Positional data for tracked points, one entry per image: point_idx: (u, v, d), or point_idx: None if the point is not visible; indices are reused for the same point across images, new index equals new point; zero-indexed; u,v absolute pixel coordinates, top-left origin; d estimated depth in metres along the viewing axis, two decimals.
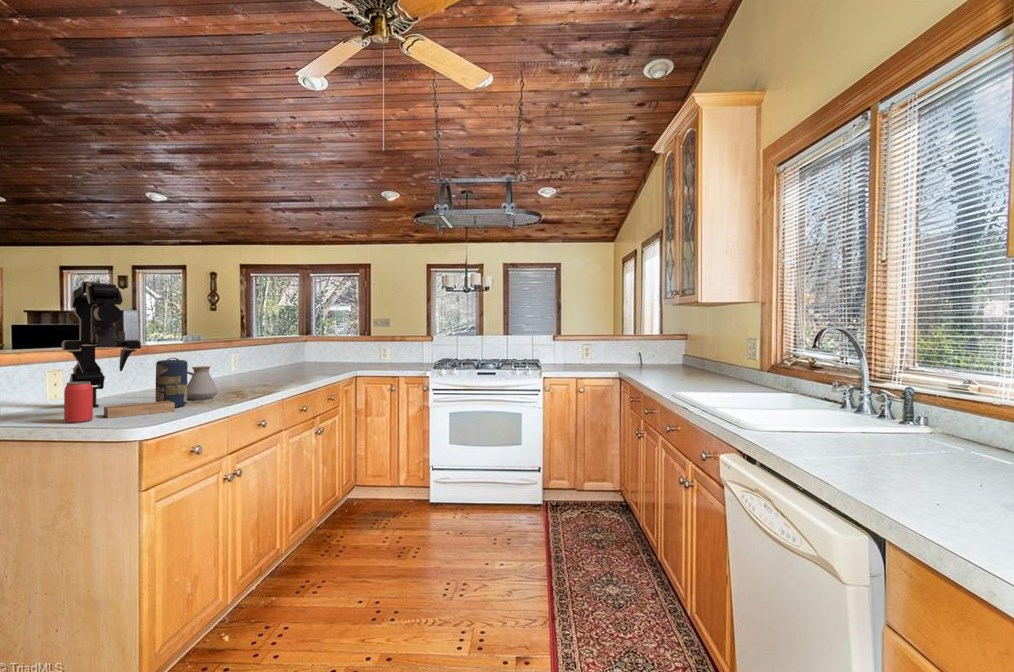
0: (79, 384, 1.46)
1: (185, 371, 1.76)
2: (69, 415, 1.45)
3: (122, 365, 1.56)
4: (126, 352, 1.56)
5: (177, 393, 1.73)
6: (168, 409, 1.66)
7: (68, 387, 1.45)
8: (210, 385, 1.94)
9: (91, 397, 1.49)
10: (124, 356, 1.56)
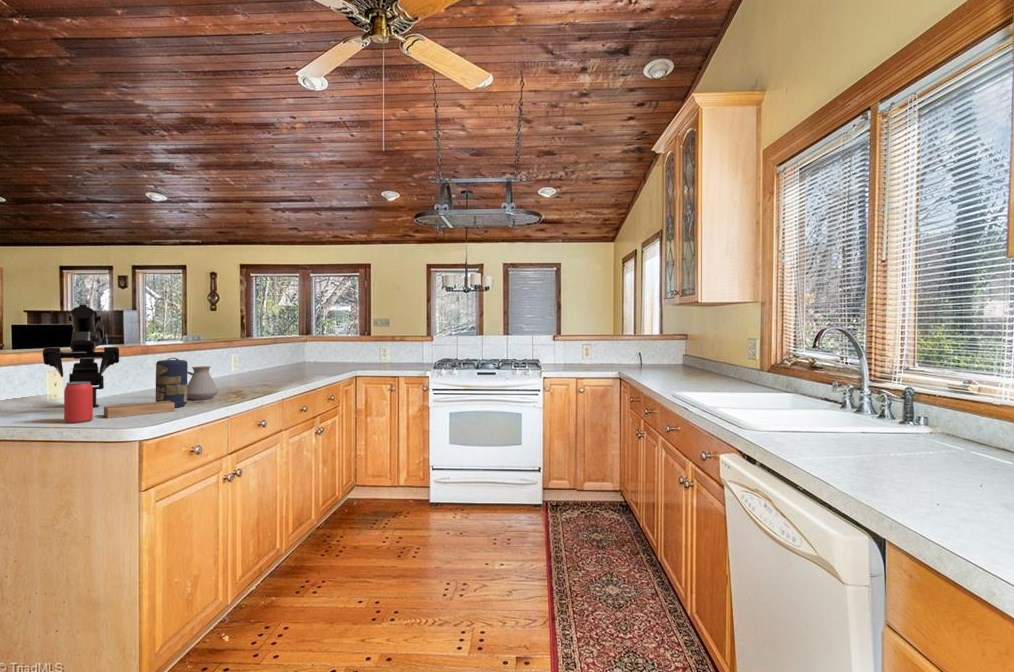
0: (79, 384, 1.46)
1: (185, 371, 1.76)
2: (69, 415, 1.45)
3: (101, 368, 1.58)
4: (104, 355, 1.60)
5: (177, 393, 1.73)
6: (168, 409, 1.66)
7: (68, 387, 1.45)
8: (210, 385, 1.94)
9: (91, 397, 1.49)
10: (103, 360, 1.59)
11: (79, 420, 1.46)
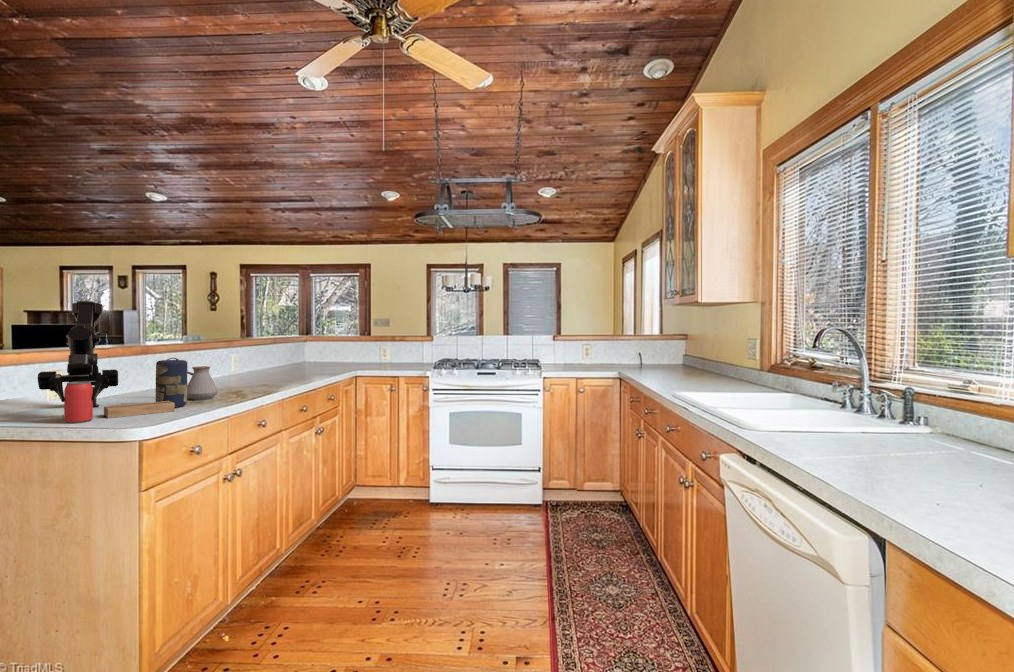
0: (79, 384, 1.46)
1: (185, 371, 1.76)
2: (69, 415, 1.45)
3: (94, 392, 1.50)
4: (98, 379, 1.51)
5: (177, 393, 1.73)
6: (168, 409, 1.66)
7: (68, 387, 1.45)
8: (210, 385, 1.94)
9: (91, 397, 1.49)
10: (96, 384, 1.51)
11: (79, 420, 1.46)
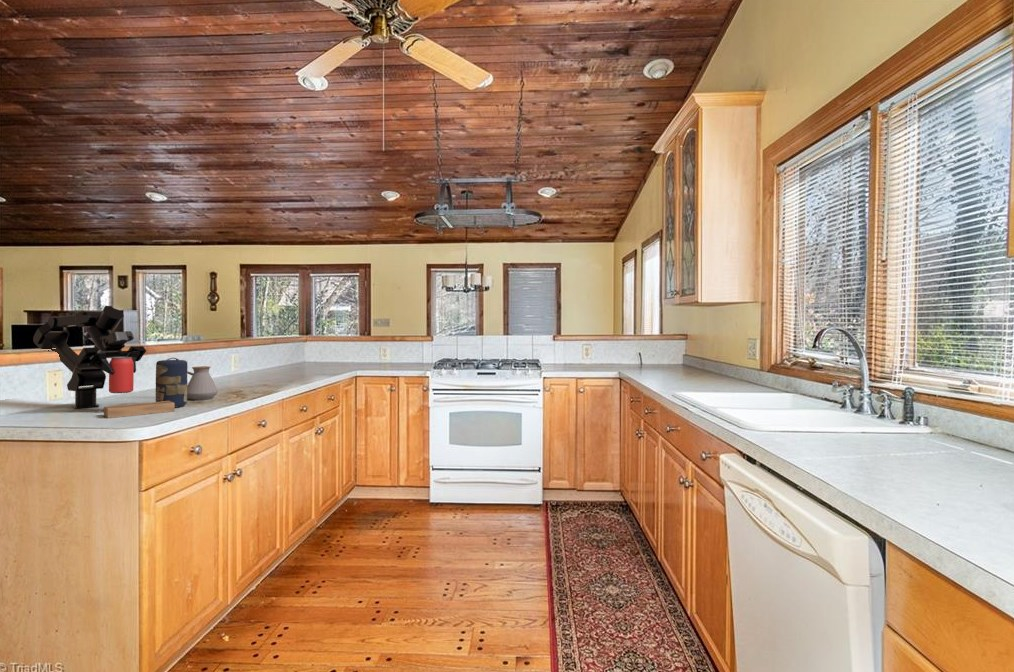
0: (127, 358, 1.64)
1: (185, 371, 1.76)
2: (119, 386, 1.62)
3: (134, 366, 1.68)
4: (133, 354, 1.69)
5: (177, 393, 1.73)
6: (168, 409, 1.66)
7: (118, 361, 1.62)
8: (210, 385, 1.94)
9: None
10: (132, 358, 1.69)
11: (128, 390, 1.64)
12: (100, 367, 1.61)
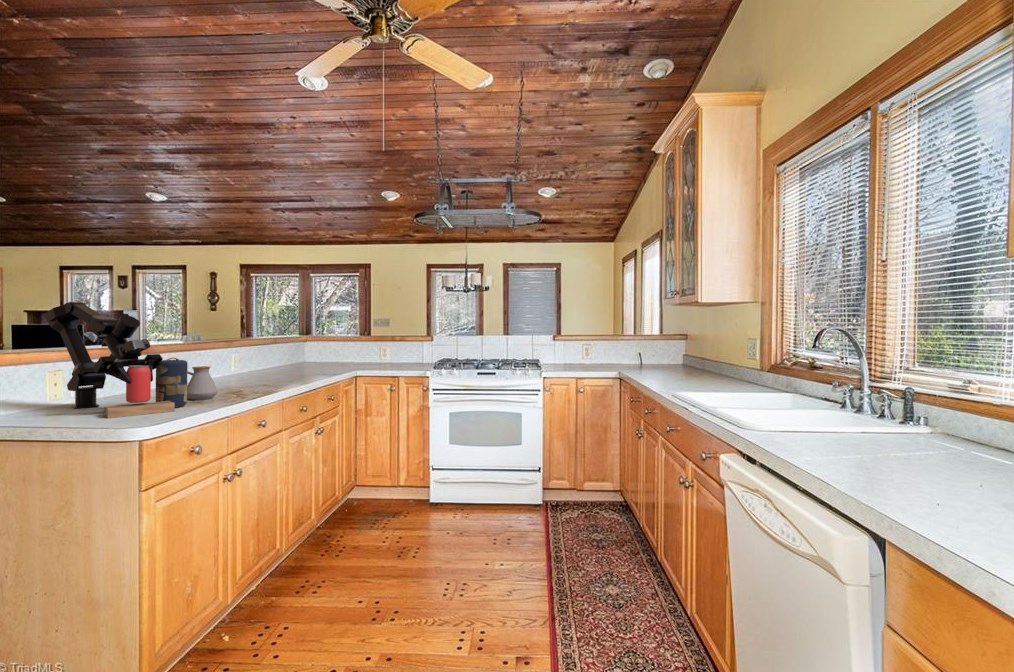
0: (144, 367, 1.61)
1: (185, 371, 1.76)
2: (137, 395, 1.59)
3: (151, 374, 1.65)
4: (149, 362, 1.67)
5: (177, 393, 1.73)
6: (168, 409, 1.66)
7: (136, 370, 1.59)
8: (210, 385, 1.94)
9: None
10: (149, 367, 1.66)
11: (145, 399, 1.61)
12: (117, 376, 1.58)
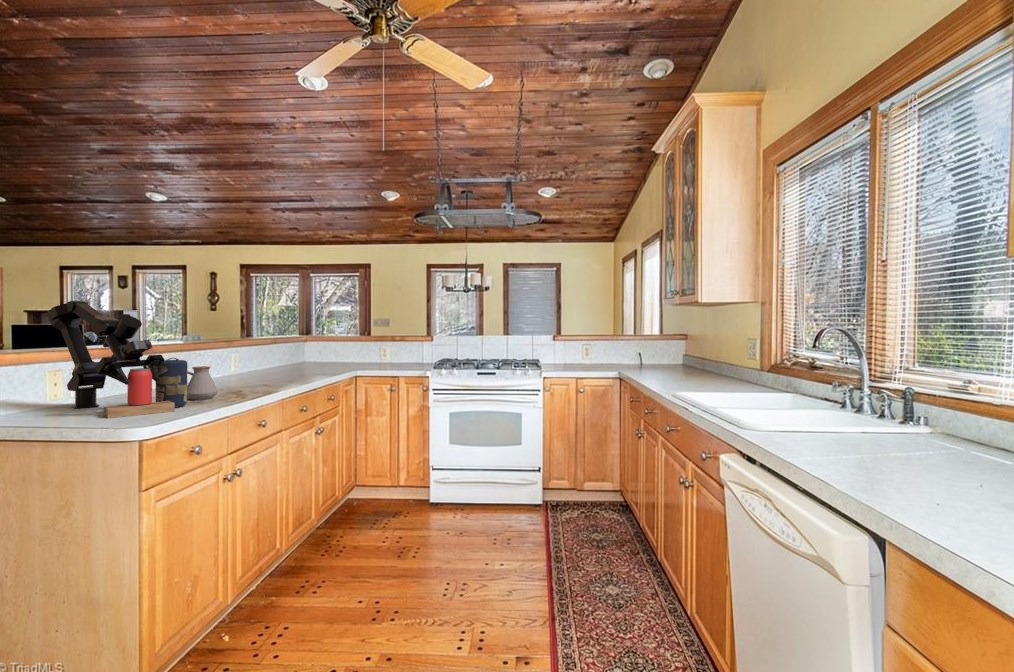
0: (146, 370, 1.61)
1: (185, 371, 1.76)
2: (138, 398, 1.59)
3: (156, 375, 1.66)
4: (155, 362, 1.67)
5: (177, 393, 1.73)
6: (168, 409, 1.66)
7: (137, 373, 1.59)
8: (210, 385, 1.94)
9: None
10: (154, 367, 1.67)
11: (147, 402, 1.61)
12: (115, 377, 1.57)
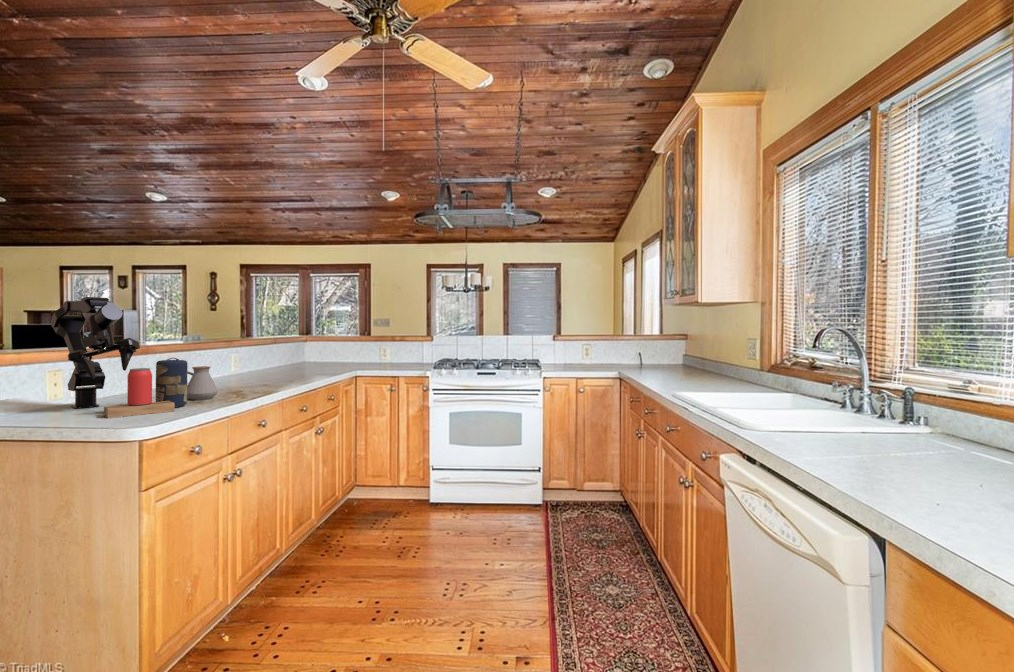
0: (146, 370, 1.61)
1: (185, 371, 1.76)
2: (138, 398, 1.59)
3: (122, 364, 1.63)
4: (120, 350, 1.63)
5: (177, 393, 1.73)
6: (168, 409, 1.66)
7: (137, 373, 1.59)
8: (210, 385, 1.94)
9: None
10: (121, 355, 1.63)
11: (147, 402, 1.61)
12: None
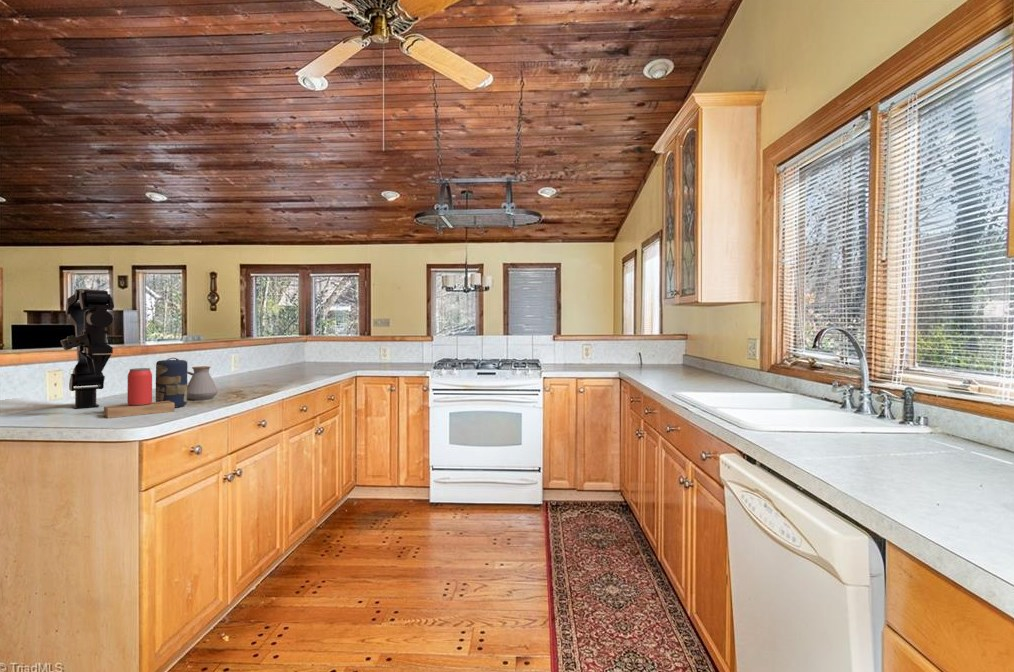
0: (146, 370, 1.61)
1: (185, 371, 1.76)
2: (138, 398, 1.59)
3: (94, 369, 1.57)
4: (89, 356, 1.56)
5: (177, 393, 1.73)
6: (168, 409, 1.66)
7: (137, 373, 1.59)
8: (210, 385, 1.94)
9: None
10: (92, 360, 1.57)
11: (147, 402, 1.61)
12: None
